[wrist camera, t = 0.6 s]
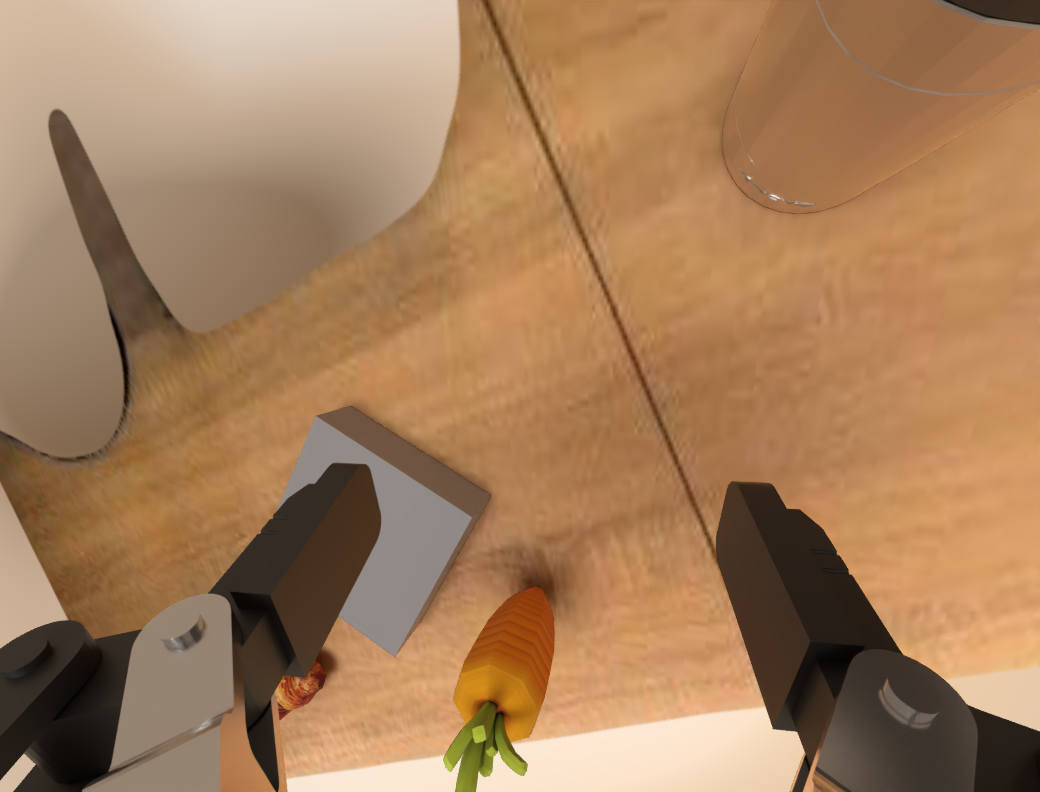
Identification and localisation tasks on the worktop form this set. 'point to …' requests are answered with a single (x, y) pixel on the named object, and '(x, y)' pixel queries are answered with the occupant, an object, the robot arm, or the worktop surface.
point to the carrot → (502, 686)
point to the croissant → (298, 690)
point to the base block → (394, 521)
